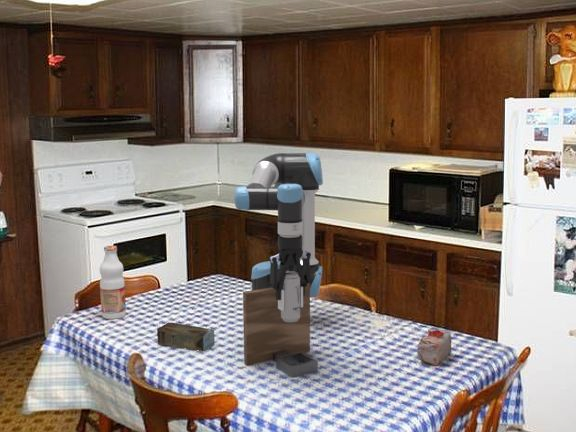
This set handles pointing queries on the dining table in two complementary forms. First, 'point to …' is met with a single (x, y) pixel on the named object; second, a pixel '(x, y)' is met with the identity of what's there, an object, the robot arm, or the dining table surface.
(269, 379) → the dining table surface
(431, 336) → the food item
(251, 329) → the wall board
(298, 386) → the dining table surface
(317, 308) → the dining table surface
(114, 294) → the fruit juice
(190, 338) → the beverage carton
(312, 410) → the dining table surface
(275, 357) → the can cradle
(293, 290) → the energy drink can
